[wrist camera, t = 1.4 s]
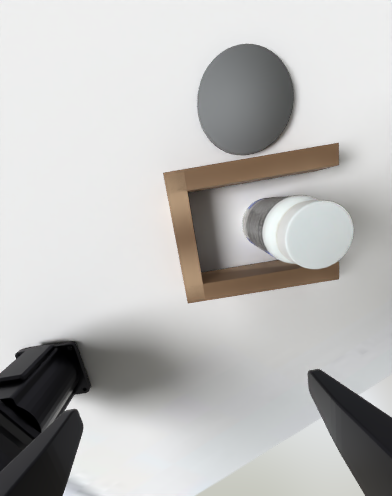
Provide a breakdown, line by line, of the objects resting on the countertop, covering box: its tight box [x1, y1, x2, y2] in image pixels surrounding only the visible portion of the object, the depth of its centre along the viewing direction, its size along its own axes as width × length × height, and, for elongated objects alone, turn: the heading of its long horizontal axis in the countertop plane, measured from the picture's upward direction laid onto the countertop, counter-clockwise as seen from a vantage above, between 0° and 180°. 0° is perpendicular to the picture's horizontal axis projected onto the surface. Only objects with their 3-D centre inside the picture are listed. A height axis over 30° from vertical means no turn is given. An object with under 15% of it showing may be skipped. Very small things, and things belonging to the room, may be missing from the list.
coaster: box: [197, 44, 293, 155], centre depth 17 cm, size 8×8×1 cm
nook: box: [163, 143, 339, 303], centre depth 18 cm, size 11×14×3 cm
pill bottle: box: [242, 195, 354, 269], centre depth 15 cm, size 5×5×8 cm
